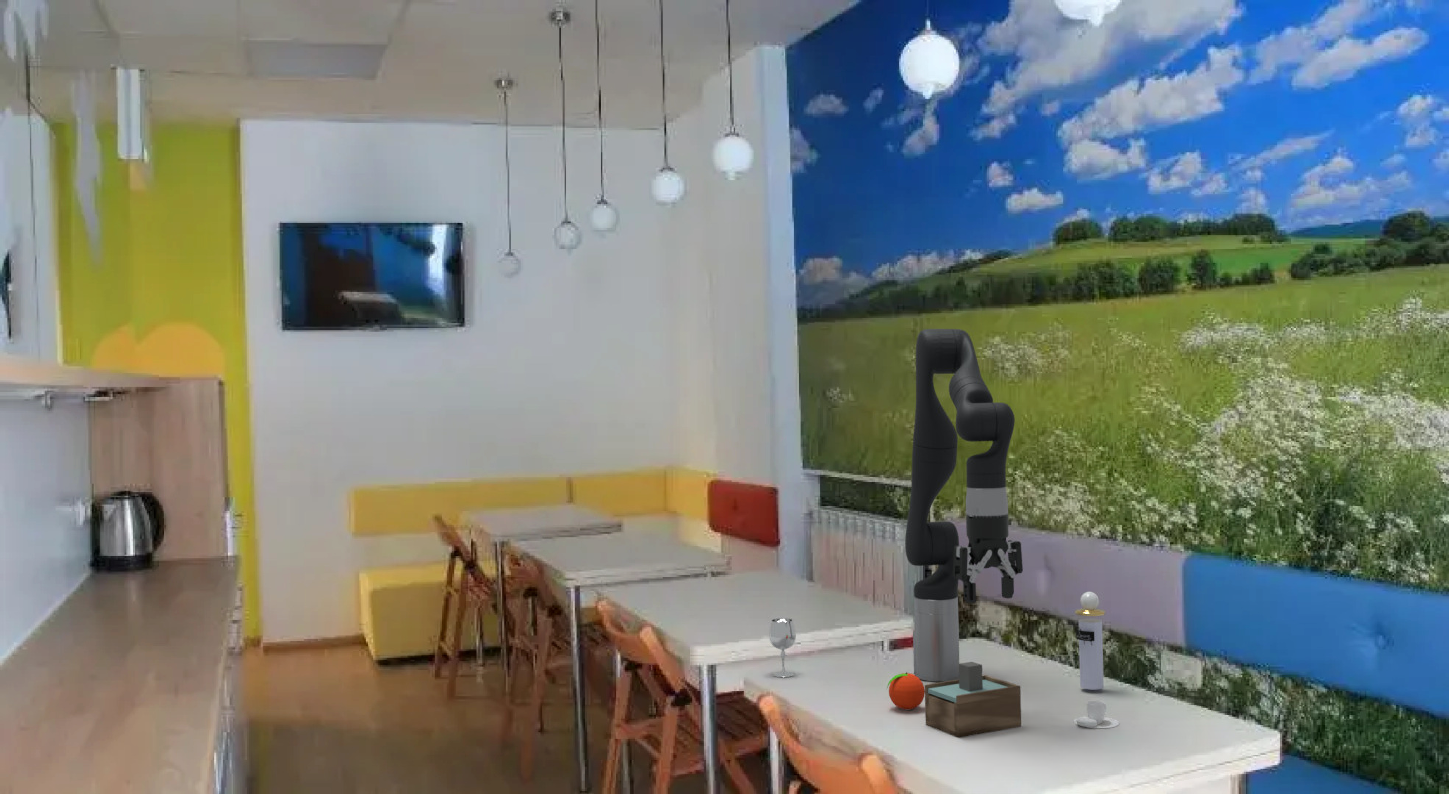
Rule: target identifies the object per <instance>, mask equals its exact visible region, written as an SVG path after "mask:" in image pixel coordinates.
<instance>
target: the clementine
mask: <svg viewBox="0 0 1449 794" xmlns="http://www.w3.org/2000/svg"><path fill="white" fill-rule="evenodd" d="M886 689H888V696H889V699H890V700H891V702H892V703H893V704H894V706H896V707H897V708H898V709H901V710H905V711H906V710H907V711H909V710H910V711H911V710H913V709H915V708H917V707H919V706H920V705H921V704H922V703H923V700H924V699H925V684H923V681H922V679H919V678H918V677H917V676H916V675H915V674H914V673H908V672H902V673H899V674H895V675H893V677H892V678H891V679H890V680H889V681H888V683H887V686H886Z"/></svg>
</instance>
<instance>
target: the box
mask: <svg viewBox="0 0 1449 794" xmlns="http://www.w3.org/2000/svg"><path fill="white" fill-rule="evenodd" d="M982 680H988V681H991V682H994V683H997V684H1000V685H1003V686H1007V687H1005V688H999V689H993V690H987V691H981V692H975V693H969V694H963V695H957V696H956V703H955V702H952V701H949V700H947V699H944V698H941V697H938V696H935V695H932V694H930V693H928V689H929V688H935V687H942V686H948V685H954V684H959V678H958V679H956V680H951V681H938V682H934V683H933V682H932V683H926V684H924V689H925V694H924V707H925V709H924V710H925V711H924V712H925V714H924V715H925V717H924V719H925V725H926V726H927V727H931V728H933V729H935V730H938V731H941V732H943V733H946V734H949V735H951V736H953V737H956V738H958V739H961V738H966V737H971V736H976V735H977V736H978V735H982V734H987V733H993V732H997V731H1004V730H1009V729H1014V728H1020V727H1022V705H1021V703H1022V700H1021V699H1022V698H1021V685H1018V684H1016V683H1013V682H1012V683H1011V682H1009V681H1007V680H1003V679H999V678H996V677H993V676H990V675H987V674H982Z"/></svg>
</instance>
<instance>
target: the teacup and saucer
mask: <svg viewBox="0 0 1449 794" xmlns="http://www.w3.org/2000/svg"><path fill="white" fill-rule="evenodd" d="M1106 708H1107V704H1106V702H1104V701H1102V700H1097V699H1096V700H1087V701H1086V711H1087V716H1080V717H1076V718H1075V719H1073V723H1074V724H1075V725H1077V726H1080V727H1083V728H1088V729H1089V728H1090V729H1111V728H1116V727H1118V726H1119V725H1120V722H1119V720H1116V719H1114V718H1111V717H1107V716H1105V713H1106V710H1107V709H1106ZM1104 721H1107V722H1110V723H1111V724H1110V725H1108V726H1098V725H1101V724H1103V722H1104Z"/></svg>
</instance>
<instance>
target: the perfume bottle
mask: <svg viewBox="0 0 1449 794" xmlns="http://www.w3.org/2000/svg"><path fill="white" fill-rule="evenodd" d="M1079 603H1080V605H1081V607H1082V608H1077V609H1075V610H1074V613H1075V615H1078V616H1083V617H1101V616H1102V617H1103V616H1105V615H1106V611H1105V610H1104V609H1100V608H1098V606H1099V605H1100V599H1099V597H1098V594H1096V593H1095V592H1093V591H1086V592H1084V593H1083V594H1082V595H1081V596H1080V602H1079ZM1075 626H1077V627H1076V628H1075V639H1076V640H1077V641H1078V647H1079V648H1078V653H1079V656H1078V657H1079V686H1080V688H1082V689H1085V690H1093V691H1095V690H1102V689H1104V687H1105V686H1104V653H1103V651H1104V650H1103V649H1104V648H1103V647H1104V645H1103V621H1102V619H1099V618H1080V619H1078V625H1077V624H1075Z"/></svg>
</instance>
